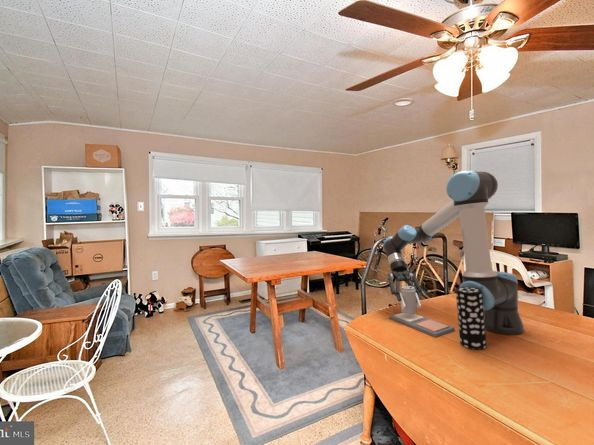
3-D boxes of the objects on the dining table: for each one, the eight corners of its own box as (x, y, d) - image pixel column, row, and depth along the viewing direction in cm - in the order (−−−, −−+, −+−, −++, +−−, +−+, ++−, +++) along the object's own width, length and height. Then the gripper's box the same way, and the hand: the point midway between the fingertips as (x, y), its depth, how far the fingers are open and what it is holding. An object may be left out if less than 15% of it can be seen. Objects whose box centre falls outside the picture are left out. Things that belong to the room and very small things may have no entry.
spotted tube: (478, 351, 99) (473, 294, 98) (455, 343, 106) (450, 290, 106) (491, 344, 102) (487, 289, 102) (468, 336, 110) (464, 285, 109)
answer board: (454, 330, 117) (454, 326, 117) (435, 337, 111) (435, 333, 111) (407, 313, 138) (407, 310, 138) (389, 318, 132) (389, 315, 132)
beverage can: (417, 315, 126) (416, 289, 126) (402, 315, 127) (401, 288, 127) (414, 310, 132) (414, 285, 132) (400, 310, 134) (399, 285, 133)
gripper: (414, 267, 145) (430, 310, 129) (376, 269, 145) (388, 312, 129) (418, 258, 139) (436, 302, 123) (379, 260, 139) (392, 304, 123)
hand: (411, 307), depth 126 cm, fingers closed on beverage can, 6 cm apart
